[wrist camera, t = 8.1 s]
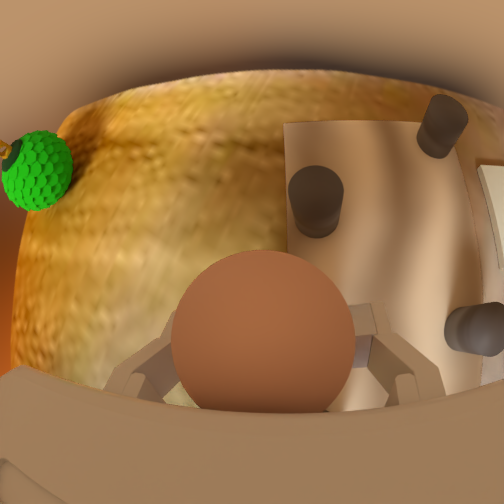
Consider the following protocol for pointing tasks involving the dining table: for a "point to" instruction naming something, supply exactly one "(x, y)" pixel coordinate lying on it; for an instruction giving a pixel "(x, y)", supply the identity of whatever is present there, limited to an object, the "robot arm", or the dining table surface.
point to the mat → (494, 203)
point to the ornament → (36, 170)
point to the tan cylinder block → (263, 336)
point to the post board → (395, 237)
